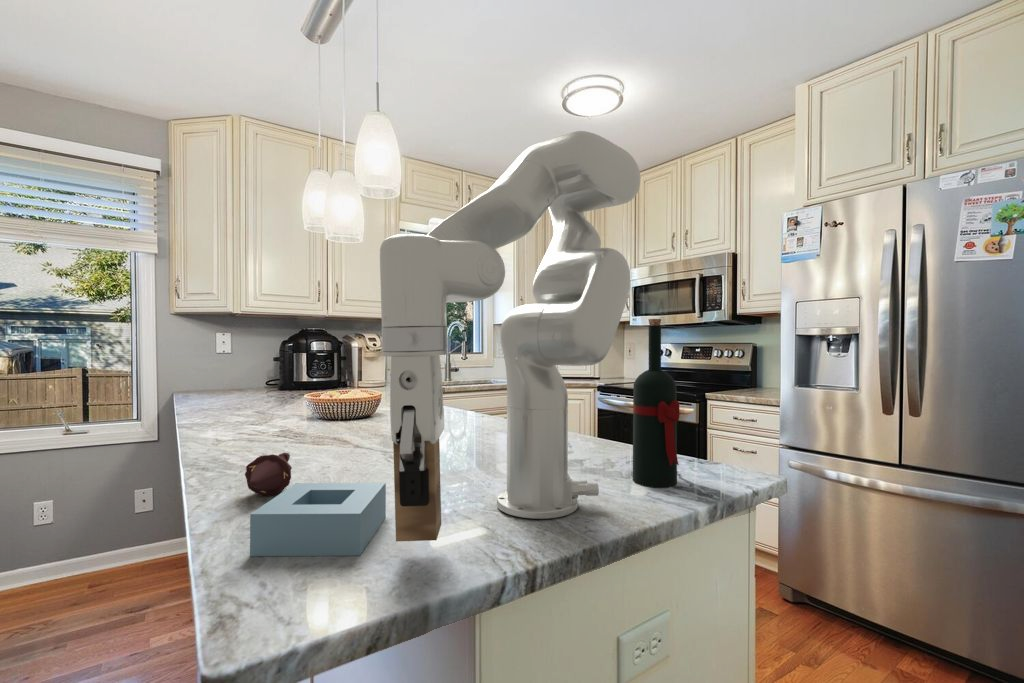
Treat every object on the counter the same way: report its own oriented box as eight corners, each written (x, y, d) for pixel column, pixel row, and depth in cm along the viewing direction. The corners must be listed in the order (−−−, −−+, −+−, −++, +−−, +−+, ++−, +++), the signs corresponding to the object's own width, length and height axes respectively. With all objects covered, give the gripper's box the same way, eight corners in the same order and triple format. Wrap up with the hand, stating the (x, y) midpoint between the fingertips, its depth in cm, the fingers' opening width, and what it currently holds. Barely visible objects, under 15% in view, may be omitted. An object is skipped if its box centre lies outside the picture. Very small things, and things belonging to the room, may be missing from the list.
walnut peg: (441, 524, 60) (439, 427, 60) (436, 540, 56) (433, 435, 55) (403, 525, 60) (401, 428, 60) (395, 541, 56) (393, 436, 55)
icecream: (282, 466, 75) (309, 453, 90) (233, 455, 75) (269, 444, 90) (269, 511, 75) (298, 491, 89) (219, 501, 74) (257, 482, 89)
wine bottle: (654, 493, 83) (654, 316, 83) (624, 477, 93) (625, 319, 93) (694, 489, 85) (694, 317, 85) (661, 474, 95) (661, 320, 95)
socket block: (385, 517, 71) (385, 482, 71) (360, 555, 58) (360, 513, 58) (295, 517, 71) (295, 483, 71) (249, 556, 58) (250, 514, 58)
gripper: (437, 344, 49) (442, 524, 49) (453, 340, 66) (456, 475, 66) (362, 345, 49) (367, 526, 49) (397, 341, 66) (401, 476, 66)
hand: (418, 495), depth 58 cm, fingers closed on walnut peg, 4 cm apart
